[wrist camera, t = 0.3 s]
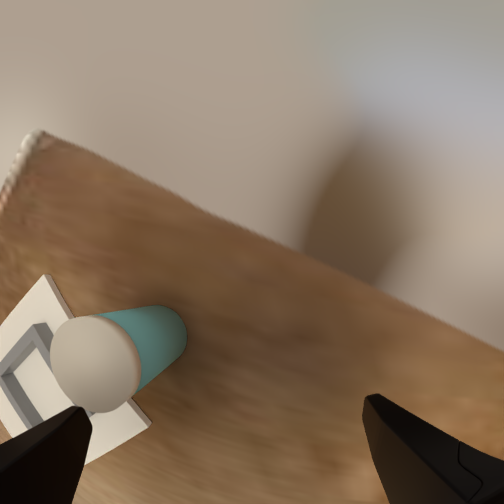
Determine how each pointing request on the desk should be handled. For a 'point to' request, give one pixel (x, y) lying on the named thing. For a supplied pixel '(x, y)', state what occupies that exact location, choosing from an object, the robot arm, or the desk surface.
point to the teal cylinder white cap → (114, 354)
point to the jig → (49, 374)
